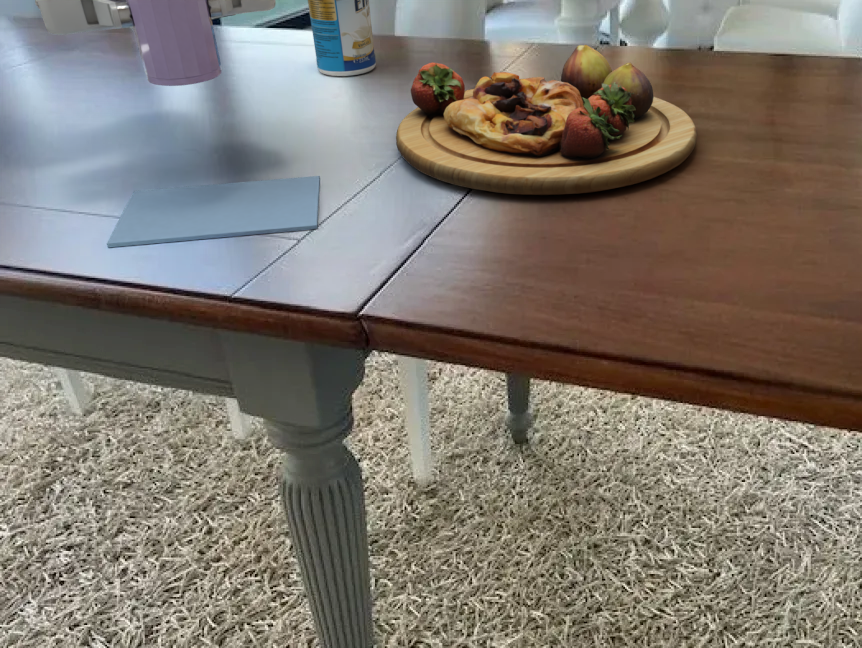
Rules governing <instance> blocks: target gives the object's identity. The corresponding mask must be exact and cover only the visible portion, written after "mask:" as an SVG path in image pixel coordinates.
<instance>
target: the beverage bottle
mask: <svg viewBox="0 0 862 648" xmlns="http://www.w3.org/2000/svg"><path fill="white" fill-rule="evenodd" d="M307 5H308V12H309V18H310V25H311V31H312V39H313V45H314V52H315V57H316V59H315V60H316V61H315V62H316V69H317V70H318V72H320V74H323V75H325V76H331V77H350V76H351V77H352V76H357V75H362V74H366V73H368V72H371V71H372V70H374V69H375V68H376V65H377V61H376V60H377V59H376V54H375V45H374V37H373V28H372V17H371V16H372V15H371V7H370V0H307Z"/></svg>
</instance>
